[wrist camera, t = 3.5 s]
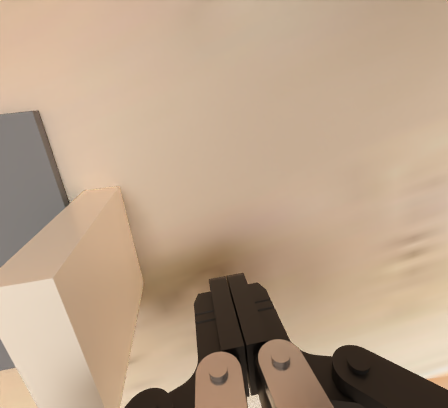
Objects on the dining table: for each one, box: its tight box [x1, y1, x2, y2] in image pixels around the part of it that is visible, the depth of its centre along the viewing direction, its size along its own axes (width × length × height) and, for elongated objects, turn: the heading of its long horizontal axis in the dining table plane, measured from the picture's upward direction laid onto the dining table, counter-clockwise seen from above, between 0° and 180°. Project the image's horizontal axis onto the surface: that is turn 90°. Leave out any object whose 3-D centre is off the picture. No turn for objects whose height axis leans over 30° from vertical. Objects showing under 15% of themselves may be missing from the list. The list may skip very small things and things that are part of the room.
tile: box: [0, 186, 144, 408], centre depth 13 cm, size 7×2×9 cm, turn 6°
